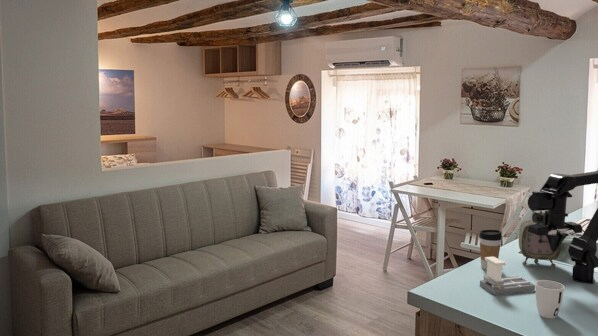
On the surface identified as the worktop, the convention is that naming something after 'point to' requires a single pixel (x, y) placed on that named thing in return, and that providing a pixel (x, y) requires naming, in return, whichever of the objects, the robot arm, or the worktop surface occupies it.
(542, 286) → the cup
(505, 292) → the fader console
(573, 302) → the worktop surface
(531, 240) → the tabletop clock
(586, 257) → the robot arm
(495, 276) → the plate
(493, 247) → the coffee cup
